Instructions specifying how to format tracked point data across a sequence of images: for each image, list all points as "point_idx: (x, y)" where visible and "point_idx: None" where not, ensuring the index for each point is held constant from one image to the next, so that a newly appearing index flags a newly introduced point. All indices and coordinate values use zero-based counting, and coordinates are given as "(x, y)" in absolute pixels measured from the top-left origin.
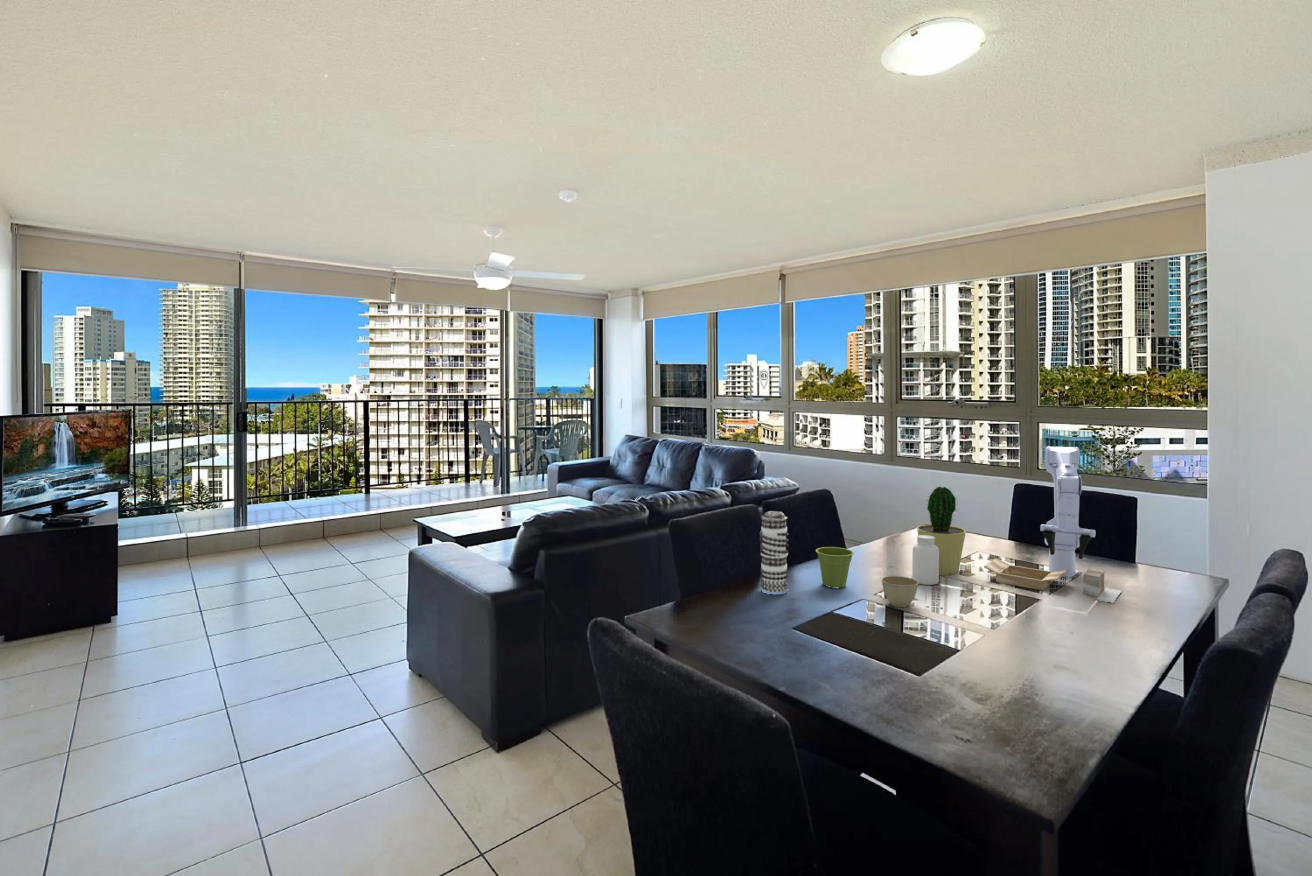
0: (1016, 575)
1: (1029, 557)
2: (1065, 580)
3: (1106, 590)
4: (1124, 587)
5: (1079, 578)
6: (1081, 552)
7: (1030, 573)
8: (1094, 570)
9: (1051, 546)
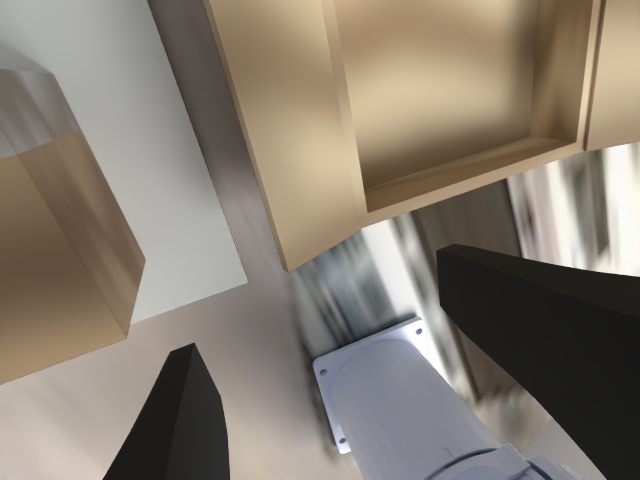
0: (499, 133)
1: (517, 439)
2: (314, 302)
3: None
4: (75, 450)
5: (291, 386)
6: (148, 410)
7: (455, 170)
8: (48, 328)
9: (526, 276)
